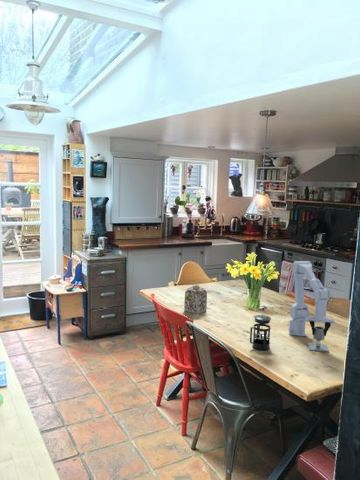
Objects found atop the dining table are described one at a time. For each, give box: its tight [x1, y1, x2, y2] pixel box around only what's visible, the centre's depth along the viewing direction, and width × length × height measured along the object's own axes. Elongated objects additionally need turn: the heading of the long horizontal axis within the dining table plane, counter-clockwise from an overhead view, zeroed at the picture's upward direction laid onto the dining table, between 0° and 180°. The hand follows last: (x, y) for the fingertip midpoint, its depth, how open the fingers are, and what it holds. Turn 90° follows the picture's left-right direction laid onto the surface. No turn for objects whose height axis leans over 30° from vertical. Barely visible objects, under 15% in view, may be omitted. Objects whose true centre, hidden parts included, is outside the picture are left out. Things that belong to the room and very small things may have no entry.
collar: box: [312, 325, 325, 341], centre depth 220 cm, size 5×5×6 cm
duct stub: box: [307, 339, 330, 354], centre depth 221 cm, size 10×10×5 cm
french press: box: [249, 305, 272, 352], centre depth 219 cm, size 12×9×23 cm
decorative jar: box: [183, 284, 208, 315], centre depth 281 cm, size 12×12×18 cm
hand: (318, 335), depth 220 cm, fingers closed on collar, 5 cm apart
